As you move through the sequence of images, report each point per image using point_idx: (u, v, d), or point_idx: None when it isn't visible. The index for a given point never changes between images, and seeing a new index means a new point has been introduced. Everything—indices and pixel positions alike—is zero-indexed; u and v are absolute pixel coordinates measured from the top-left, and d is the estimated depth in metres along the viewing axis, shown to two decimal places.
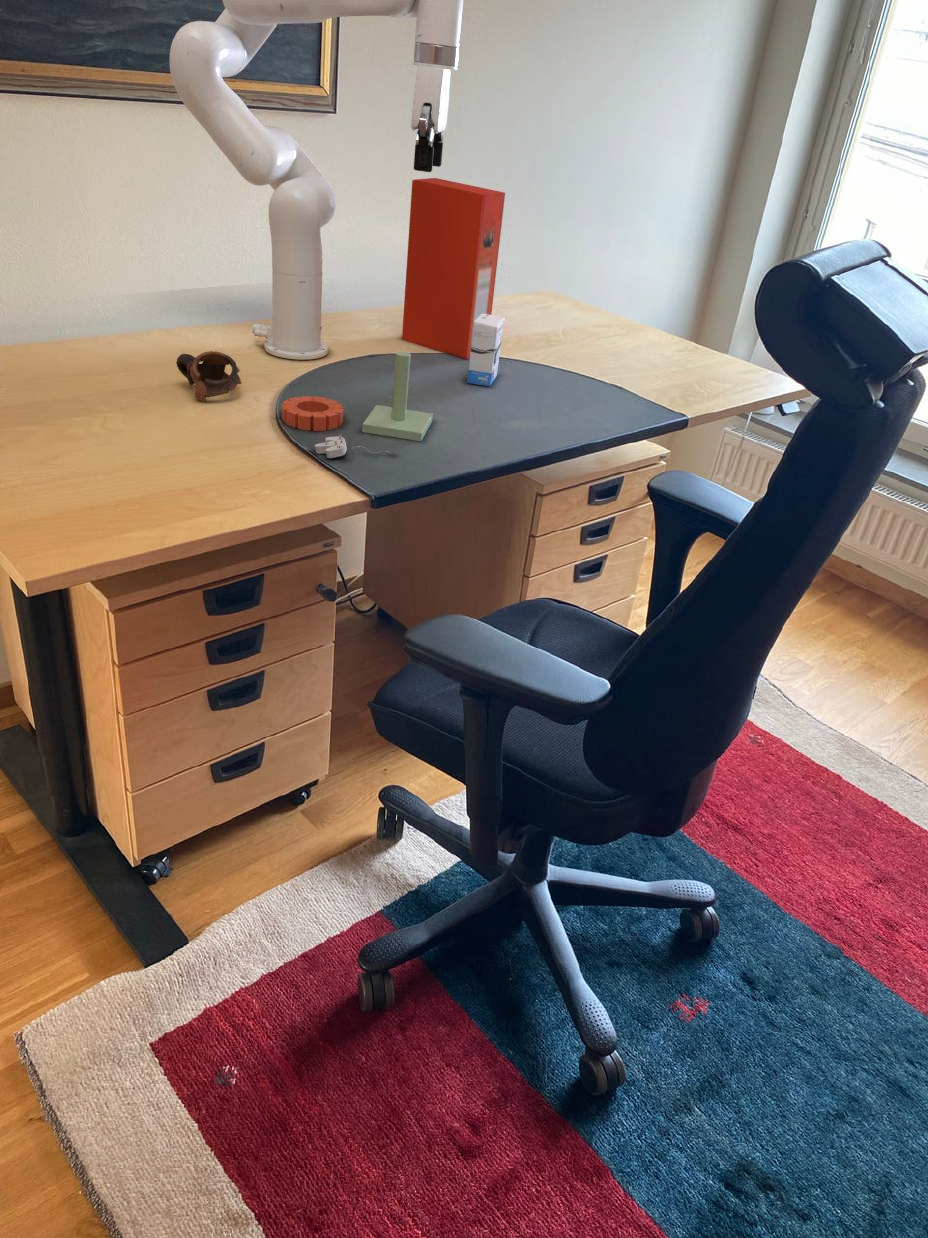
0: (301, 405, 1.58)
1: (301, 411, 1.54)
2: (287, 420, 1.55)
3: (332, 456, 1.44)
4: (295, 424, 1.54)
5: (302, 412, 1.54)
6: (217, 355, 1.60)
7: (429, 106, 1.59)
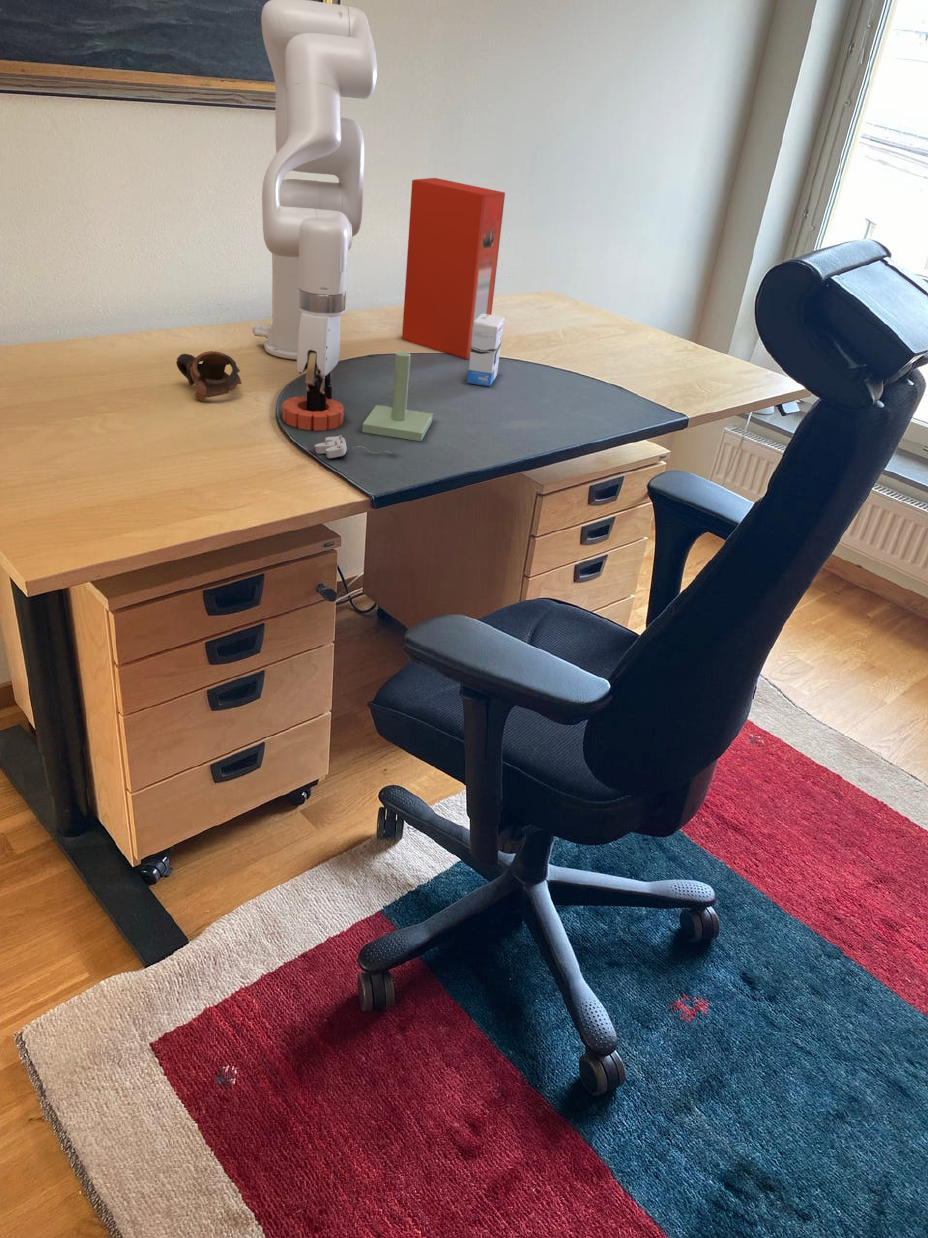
0: (302, 404, 1.59)
1: (301, 411, 1.54)
2: (287, 420, 1.55)
3: (332, 456, 1.44)
4: (295, 424, 1.54)
5: (302, 412, 1.54)
6: (217, 355, 1.60)
7: (314, 359, 1.52)
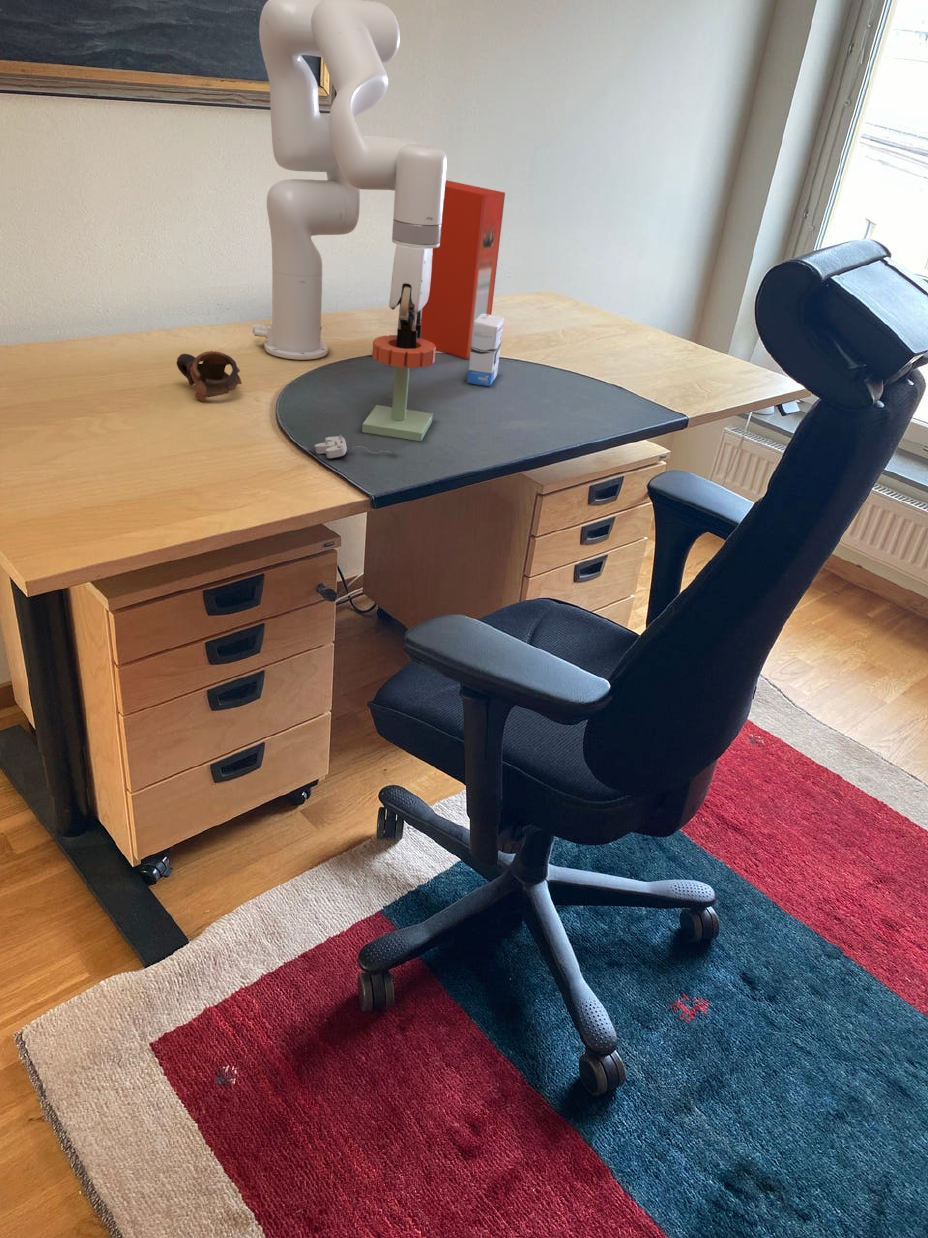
0: (392, 343, 1.54)
1: (394, 348, 1.50)
2: (379, 357, 1.50)
3: (332, 456, 1.44)
4: (388, 361, 1.50)
5: (395, 348, 1.49)
6: (217, 355, 1.60)
7: (409, 293, 1.47)
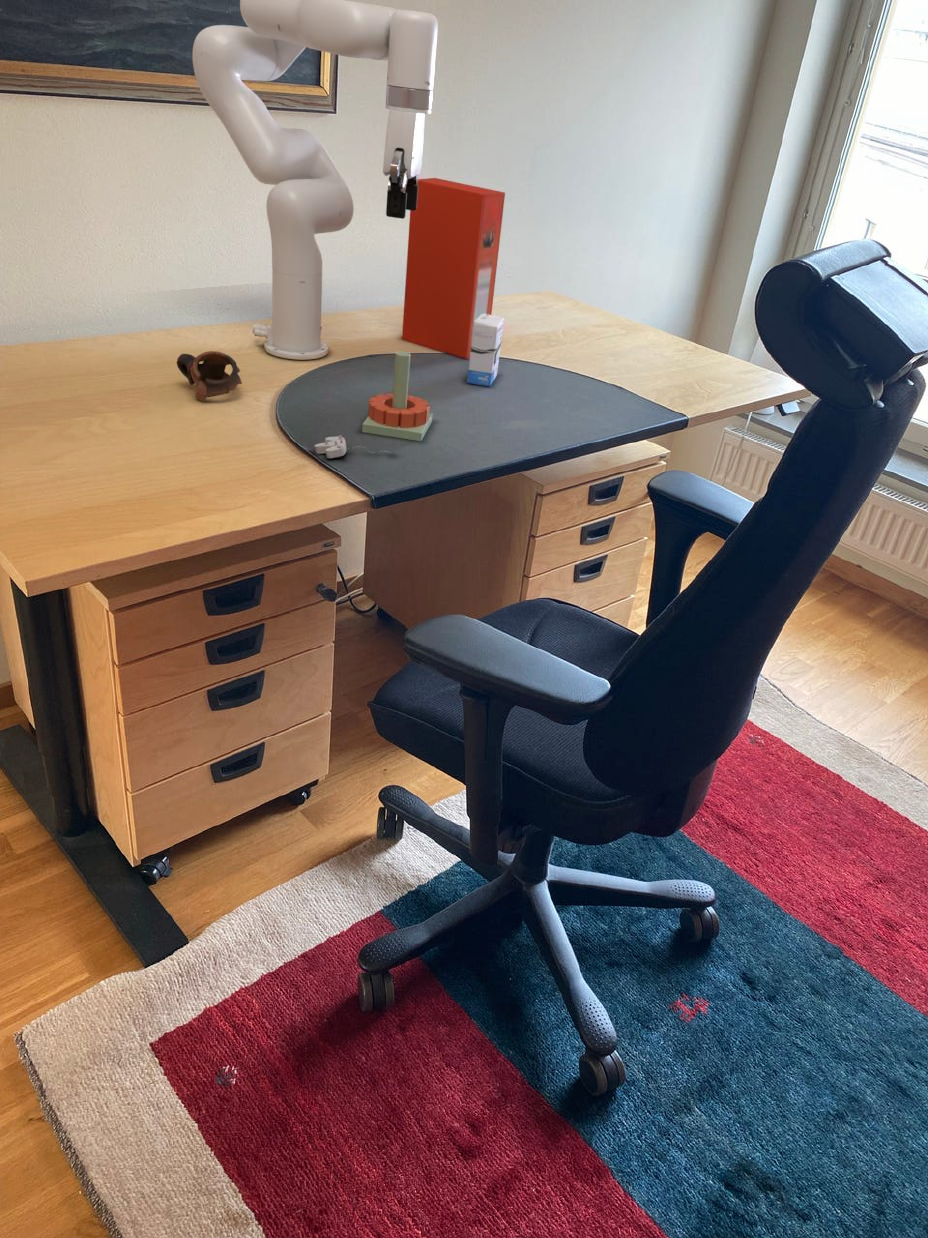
0: (387, 402, 1.60)
1: (389, 408, 1.56)
2: (375, 417, 1.56)
3: (332, 456, 1.44)
4: (383, 421, 1.55)
5: (390, 409, 1.55)
6: (217, 355, 1.60)
7: (401, 151, 1.52)
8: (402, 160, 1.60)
